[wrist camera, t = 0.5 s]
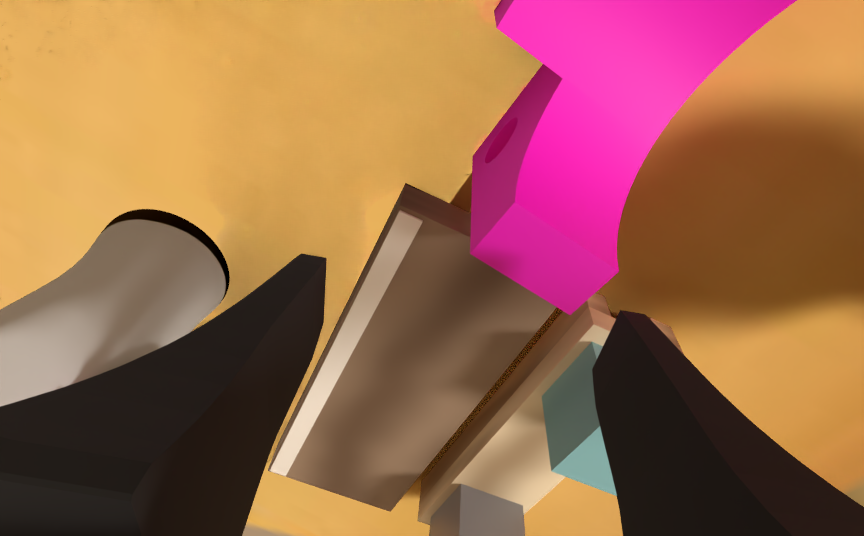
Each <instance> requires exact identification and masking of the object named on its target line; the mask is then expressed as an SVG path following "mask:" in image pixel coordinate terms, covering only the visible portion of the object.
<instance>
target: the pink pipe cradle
mask: <svg viewBox="0 0 864 536" xmlns="http://www.w3.org/2000/svg"><path fill="white" fill-rule="evenodd" d="M795 1H797V0H501V1H500V3H499V4H498V6H497V7H496V9H495V10H494V14H495V20H496V26H497V29H499V30H500V31H501V32H503V33H504V34H505V35H507V36H508V37H509V38H511V39H512V40H513V41H514V42H516V43H517V44H518V45H520V46H521V47H522V48H524V49H525V50H526V51H527V52H529V53H530V54H531V55H533V56H534V57H535V58H537V59H538V60H539V61H540V62H542V63H543V65H542V66H541V67H540V69H539V70H538V71H537V72H536V74H535V75H534V76H533V78H532V79H531V80H530V82H529V83H528V84H527V86H526V87H525V88H524V90H523V91H522V92H521V93H520V95H519V96H518V97H517V99H516V100H515V101H514V103H513V104H512V105H511V107H510V108H509V109H508V110H507V112H506V113H505V114H504V116H503V117H502V118H501V120H500V121H499V122H498V124H497V125H496V126H495V128H494V129H493V130H492V131H491V133H490V134H489V135H488V137H487V138H486V139H485V141H484V142H483V143H482V145H481V146H480V147H479V149H478V150H477V151H476V152H475V154H474V155H473V166H472V202H471V237H470V254H471V255H473V256H474V257H476V258H478V259H479V260H481V261H482V262H484V263H486V264H487V265H489V266H491V267H492V268H494V269H495V270H497V271H499V272H500V273H502V274H504V275H505V276H507V277H508V278H510V279H512V280H513V281H515V282H517V283H518V284H520V285H521V286H523V287H525V288H526V289H528V290H530V291H531V292H533V293H535V294H536V295H538V296H539V297H541V298H543V299H544V300H546V301H548V302H549V303H551V304H552V305H554V306H556V307H557V308H559V309H561V310H562V311H564V312H565V313H567V314H569V315H571V314H572V313H573V312H574V311H576V310H577V309H578V308H579V307H580V306H581V305H582V304H583V303H584V302H586V301H587V300H588V299H589V298H590V297H591V296H592V295H593V294H595V293H596V292H597V291H598V290H599V289H600V288H601V287H602V286H603V285H605V284H606V283H607V282H608V281H609V280H610V279H611V278H612V277H613V276H615V275H616V274H617V273H618V272H619V268H618V261H617V237H618V229H619V224H620V219H621V215H622V211H623V208H624V204H625V201H626V199H627V196H628V193H629V191H630V188H631V186H632V184H633V181H634V179H635V177H636V175H637V173H638V171H639V169H640V167H641V165H642V163H643V161H644V159H645V158H646V156H647V154H648V153H649V151H650V149H651V148H652V146H653V144H654V143H655V141H656V140H657V138H658V137H659V135H660V134H661V132H662V131H663V130H664V128H665V127H666V125H667V124H668V123H669V121H670V120H671V119H672V117H673V116H674V115H675V113H676V112H677V111H678V110H679V109H680V107H681V106H682V105H683V104H684V102H685V101H686V100H687V99H688V98H689V96H690V95H691V94H692V93H693V92H694V91H695V90H696V89H697V87H698V86H699V85H700V84H701V83H702V82H703V81H704V80H705V79H706V78H707V77H708V76H709V75H710V74H711V73H712V72H713V71H714V70H715V69H716V67H718V66H719V65H720V64H721V63H722V62H723V61H724V60H725V59H726V58H727V57H728V56H729V55H730V54H731V53H732V52H733V51H734V50H736V49H737V48H738V47H739V46H740V45H741V44H742V43H743V42H745V41H746V40H747V39H748V38H749V37H750V36H751V35H753V34H754V33H755V32H756V31H758V30H759V29H760V28H761V27H762V26H764V25H765V24H766V23H767V22H768V21H770V20H771V19H772V18H774V17H775V16H776V15H778V14H779V13H780V12H782V11H783V10H784V9H786V8H787V7H788V6H790V5H791V4H792V3H794V2H795Z"/></svg>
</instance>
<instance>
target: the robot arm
mask: <svg viewBox="0 0 864 536" xmlns="http://www.w3.org/2000/svg"><path fill="white" fill-rule="evenodd" d="M325 280H326V258H323V257H317V256H312V255H306V254H300V255H299V256H297V257H296V258H295V259H293V260H292V261H291V262H290V263H288V264H287V265H286V266H285V267H283V268H282V269H281V270H280V271H279V272H277V273H276V274H275V275H274V276H272V277H271V278H270V279H268V280H267V281H266V282H265V283H263V284H262V285H261V286H259V287H258V288H257V289H255V290H254V291H253V292H251V293H250V294H249V295H247V296H246V297H245V298H243V299H242V300H240V301H239V302H238V303H236V304H235V305H233V306H232V307H230V308H229V309H227V310H226V311H224V312H223V313H221V314H220V315H218V316H217V317H215V318H214V319H212V320H210V321H209V322H207V323H206V324H204V325H202V326H201V327H199V328H197V329H196V330H194V331H192V332H190V333H188V334H186V335H185V336H183V337H181V338H179V339H177V340H175V341H173V342H171V343H170V344H168V345H165V346H163V347H161V348H159V349H157V350H155V351H152V352H150V353H148V354H146V355H144V356H142V357H139V358H137V359H135V360H133V361H131V362H128V363H126V364H124V365H121V366H119V367H116V368H114V369H111V370H109V371H106V372H104V373H101V374H99V375H96V376H93V377H91V378H88V379H85V380H82V381H80V382H77V383H74V384H71V385H68V386H65V387H63V388H60V389H57V390H53V391H50V392H47V393H43V394H40V395H37V396H34V397H30V398H27V399H24V400H21V401H17V402H14V403H11V404H7V405H4V406H0V536H242V534H243V531H244V528H245V525H246V522H247V519H248V516H249V513H250V510H251V507H252V504H253V501H254V497H255V494H256V491H257V488H258V486H259V483H260V480H261V477H262V474H263V471H264V468H265V465H266V462H267V459H268V456H269V454H270V451H271V448H272V446H273V444H274V441H275V439H276V436H277V434H278V432H279V430H280V427H281V425H282V423H283V421H284V419H285V417H286V414H287V412H288V410H289V408H290V406H291V404H292V401H293V399H294V397H295V395H296V393H297V391H298V388H299V386H300V384H301V382H302V380H303V378H304V375H305V373H306V371H307V369H308V367H309V364H310V362H311V360H312V358H313V355H314V351H315V348H316V345H317V342H318V339H319V336H320V332H321V329H322V326H323V323H324V301H325ZM592 375H593V387H594V397H595V406H596V411H597V415H598V420H599V424H600V428H601V432H602V437H603V441H604V445H605V449H606V453H607V457H608V461H609V465H610V469H611V473H612V477H613V481H614V485H615V489H616V494H617V499H618V504H619V509H620V515H621V523H622V530H623V536H864V507H863V506H861V505H860V504H858V503H857V502H855V501H854V500H852V499H851V498H849V497H848V496H847V495H845V494H844V493H842V492H841V491H839V490H838V489H836V488H835V487H834V486H832V485H831V484H829V483H828V482H827V481H825V480H824V479H823V478H821V477H820V476H819V475H817V474H816V473H814V472H813V471H812V470H810V469H809V468H808V467H806V466H805V465H804V464H802V463H801V462H800V461H798V460H797V459H796V458H795V457H793V456H792V455H791V454H789V453H788V452H787V451H786V450H784V449H783V448H782V447H781V446H780V445H778V444H777V443H776V442H775V441H774V440H772V439H771V438H770V437H769V436H768V435H766V434H765V433H764V432H763V431H762V430H760V429H759V428H758V427H757V426H756V425H755V424H753V423H752V422H751V421H750V420H749V419H748V418H747V417H746V416H744V415H743V414H742V413H741V412H740V411H739V410H738V409H737V408H736V407H735V406H734V405H733V404H732V403H731V402H730V401H729V400H728V399H726V398H725V397H724V396H723V395H722V394H721V393H720V392H719V391H718V390H717V389H716V388H715V387H714V386H713V385H712V384H711V383H710V382H709V381H708V380H707V379H706V378H705V377H704V376H703V375H702V374H701V373H700V371H699V370H698V369H697V368H696V367H695V366H694V365H693V364H692V363H691V362H690V361H689V360H688V359H687V358H686V357H685V356H684V355H683V353H682V352H681V351H680V350H679V349H678V348H677V347H676V346H675V345H674V344H673V343H672V342H671V341H670V339H669V338H668V337H667V336H666V335H665V334H664V333H663V332H662V331H661V330H660V329H659V328H658V327H657V326H656V325H655V324H654V323H653V322H652V321H651V320H650V319H649V318H648V317H647V316H646V315H645V314H639V313H634V312H628V311H622V310H620V312H619V314H618V316H617V318H616V320H615V322H614V324H613V327H612V329H611V331H610V333H609V335H608V337H607V339H606V341H605V343H604V345H603V347H602V350H601V352H600V354H599V356H598V358H597V360H596V362H595V364H594V366H593V368H592Z"/></svg>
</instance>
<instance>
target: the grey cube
mask: <svg viewBox="0 0 864 536" xmlns="http://www.w3.org/2000/svg"><path fill="white" fill-rule="evenodd" d="M429 536H525V527H524V513H523V505H520V504H517V503H515V502H512V501H509V500H506V499H503V498H500V497H498V496H495V495H492V494H489V493H486V492H483V491H481V490H478V489H475V488H472V487H469V486H467V485H464V484H460V485H459V486H458V487H457V489H456V490H455V491H454V492H453V493H452V494H451V495H450V496H449V497H448V498H447V500H446V501H445V502H444V503H443V504H442V505H441V506H440V507H439V508H438V509H437V511H436V512H435V513H434V514H433V515H432V516H431V521H430V533H429Z"/></svg>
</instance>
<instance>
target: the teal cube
mask: <svg viewBox="0 0 864 536" xmlns="http://www.w3.org/2000/svg"><path fill="white" fill-rule="evenodd" d="M602 347H603V346H601V345H599V344H596V343H594V342H591V343H590V344H589V345H588V346H587V347H586V348H585V350H584V351H583V352H582V353H581V354H580V355H579V356H578V357H577V358H576V359H575V360H574V361H573V363H572V364H571V365H570V366H569V367H568V368H567V369H566V370H565V371H564V372H563V373H562V375H561V376H560V377H559V378H558V379H557V380H556V381H555V382H554V383H553V384H552V385H551V387H550V388H549V389H548V390H547V391H546V392H545V393H544V394H543V395H542V404H543V411H544V419H545V427H546V435H547V442H548V450H549V458H550V466H551V471H552V472H555V473H557V474H560V475H563V476H565V477H568V478H571V479H573V480H576V481H579V482H581V483H584V484H587V485H589V486H592V487H595V488H597V489H600V490H603V491H605V492H608V493H611V494H613V495H616V496H617V494H616V489H615V485H614V481H613V477H612V473H611V469H610V465H609V461H608V457H607V453H606V449H605V445H604V441H603V437H602V432H601V428H600V424H599V420H598V415H597V411H596V406H595V397H594V387H593V375H592V368H593V366H594V364H595V362H596V360H597V358H598V356H599V354H600V352H601V350H602Z"/></svg>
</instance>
